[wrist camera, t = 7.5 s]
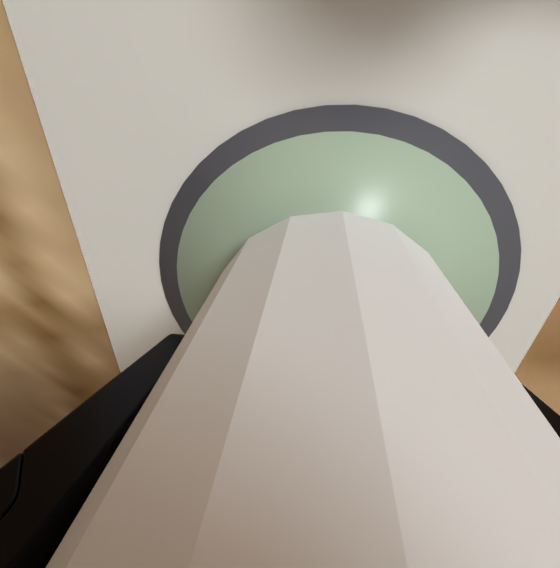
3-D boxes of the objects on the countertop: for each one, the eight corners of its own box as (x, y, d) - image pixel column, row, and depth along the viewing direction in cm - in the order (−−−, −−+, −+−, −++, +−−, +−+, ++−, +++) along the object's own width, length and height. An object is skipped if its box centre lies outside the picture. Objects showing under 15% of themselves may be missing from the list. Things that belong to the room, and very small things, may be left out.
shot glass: (458, 132, 7) (1335, 797, 1) (481, 380, 10) (689, 836, 4) (141, 234, 8) (-233, 664, 3) (254, 414, 12) (192, 766, 6)
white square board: (130, 387, 14) (125, 397, 14) (-14, -85, 7) (-33, -91, 6) (477, 422, 13) (481, 433, 13) (757, -64, 6) (785, -70, 6)
